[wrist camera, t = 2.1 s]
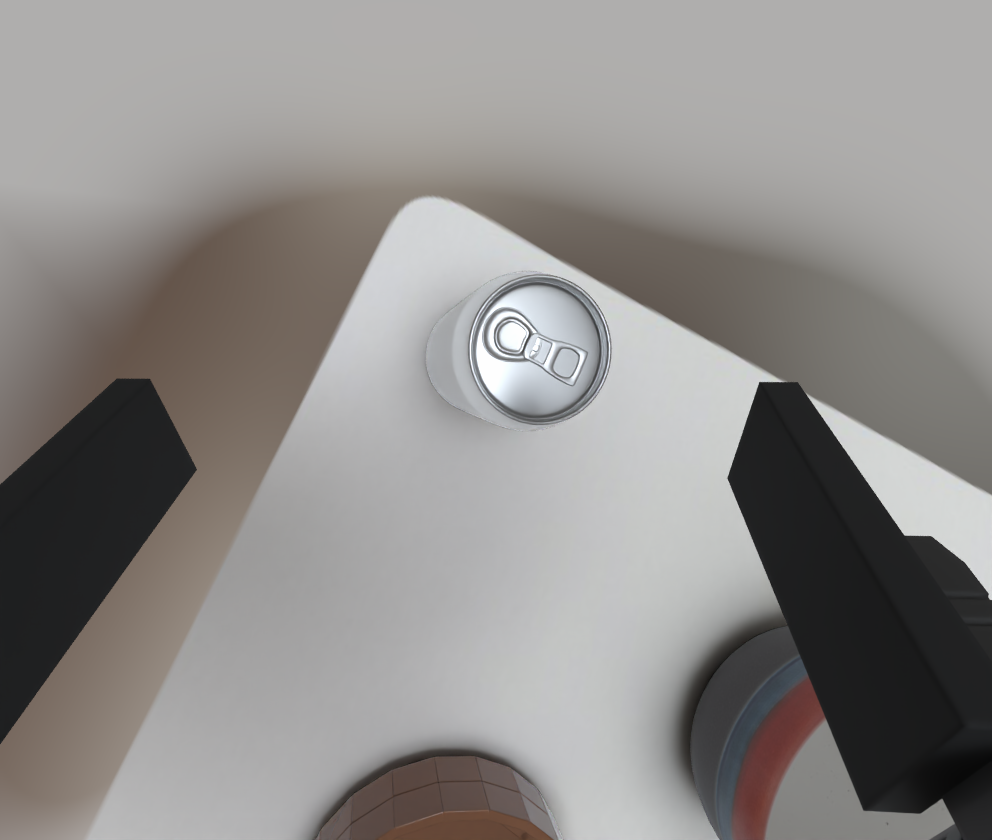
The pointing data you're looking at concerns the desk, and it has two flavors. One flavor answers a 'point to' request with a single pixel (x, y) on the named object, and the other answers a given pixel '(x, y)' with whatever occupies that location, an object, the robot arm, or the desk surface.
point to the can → (521, 351)
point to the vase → (782, 757)
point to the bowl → (445, 805)
